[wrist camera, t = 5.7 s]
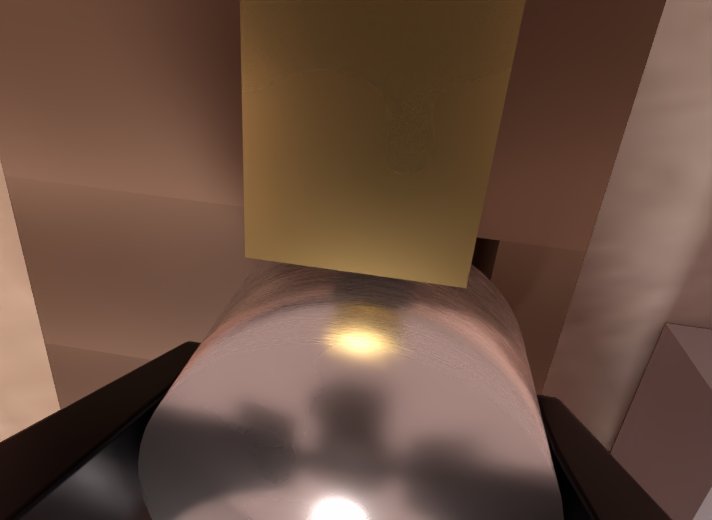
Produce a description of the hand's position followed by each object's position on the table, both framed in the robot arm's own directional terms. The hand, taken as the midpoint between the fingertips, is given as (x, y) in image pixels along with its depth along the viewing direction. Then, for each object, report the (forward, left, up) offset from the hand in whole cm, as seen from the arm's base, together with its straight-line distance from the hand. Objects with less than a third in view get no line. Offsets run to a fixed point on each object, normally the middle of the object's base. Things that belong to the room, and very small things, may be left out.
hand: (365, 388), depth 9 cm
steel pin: (0, 0, -4) cm, 4 cm away
